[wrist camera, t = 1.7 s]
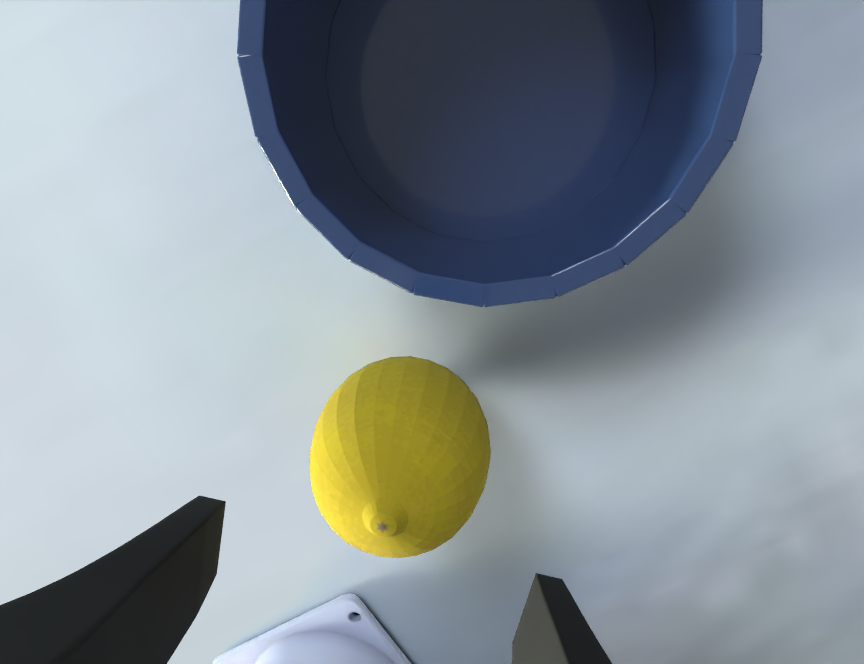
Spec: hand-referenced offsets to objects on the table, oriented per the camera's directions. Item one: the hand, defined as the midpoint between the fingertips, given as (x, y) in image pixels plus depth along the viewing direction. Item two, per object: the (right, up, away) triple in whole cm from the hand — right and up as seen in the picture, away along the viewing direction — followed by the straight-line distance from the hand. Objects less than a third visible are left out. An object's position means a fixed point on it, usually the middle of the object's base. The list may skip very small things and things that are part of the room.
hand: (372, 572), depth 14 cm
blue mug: (+4, +15, +5) cm, 16 cm away
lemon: (+1, +3, +9) cm, 10 cm away
